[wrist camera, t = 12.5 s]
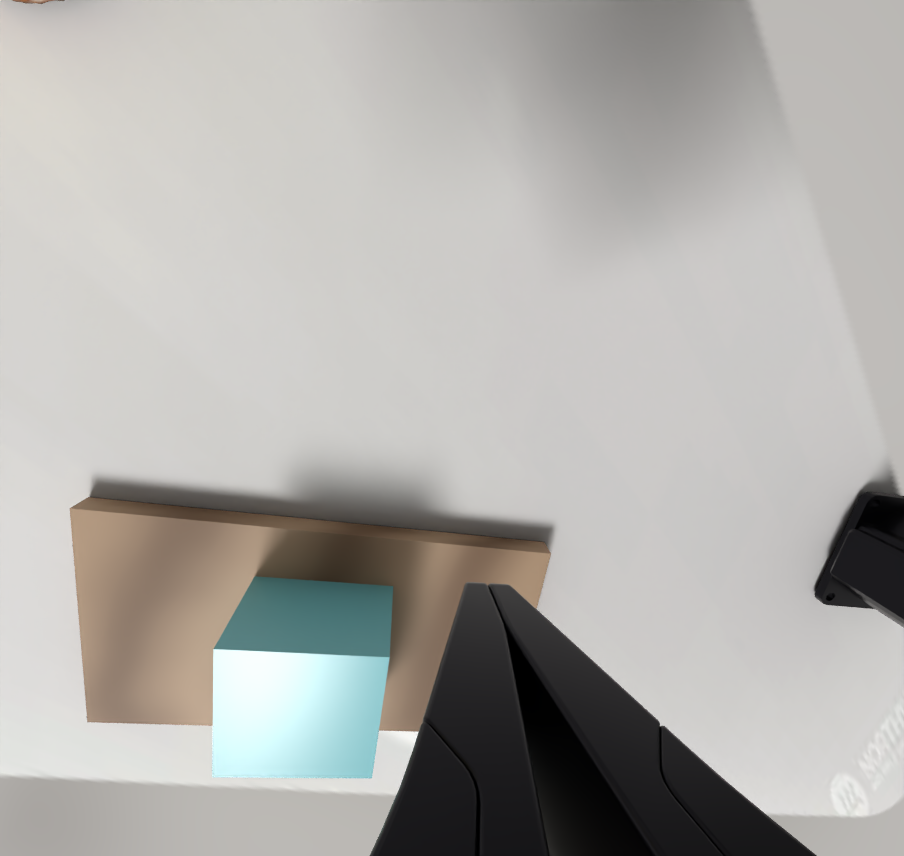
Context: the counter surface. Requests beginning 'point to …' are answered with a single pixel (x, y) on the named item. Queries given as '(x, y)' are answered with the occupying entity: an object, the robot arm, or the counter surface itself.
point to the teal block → (301, 680)
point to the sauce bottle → (34, 1)
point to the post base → (227, 579)
